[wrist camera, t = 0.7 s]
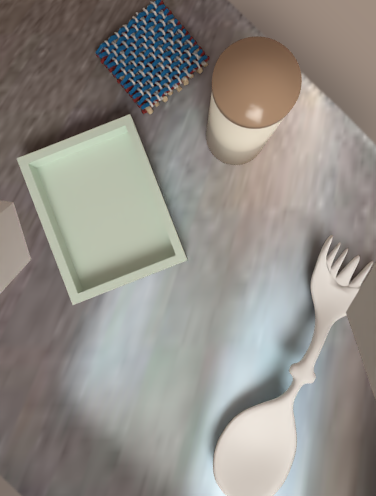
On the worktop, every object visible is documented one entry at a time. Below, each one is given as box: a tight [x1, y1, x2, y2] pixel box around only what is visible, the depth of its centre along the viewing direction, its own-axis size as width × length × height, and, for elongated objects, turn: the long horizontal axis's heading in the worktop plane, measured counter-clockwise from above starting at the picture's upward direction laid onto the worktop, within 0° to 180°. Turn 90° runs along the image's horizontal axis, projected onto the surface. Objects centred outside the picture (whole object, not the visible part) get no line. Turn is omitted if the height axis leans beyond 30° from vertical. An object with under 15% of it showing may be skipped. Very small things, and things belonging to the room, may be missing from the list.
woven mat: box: [96, 0, 209, 114], centre depth 37 cm, size 10×11×2 cm
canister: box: [206, 37, 302, 165], centre depth 31 cm, size 7×7×12 cm
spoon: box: [213, 235, 373, 496], centre depth 35 cm, size 9×32×4 cm, turn 153°
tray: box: [17, 114, 187, 305], centre depth 36 cm, size 18×14×2 cm
